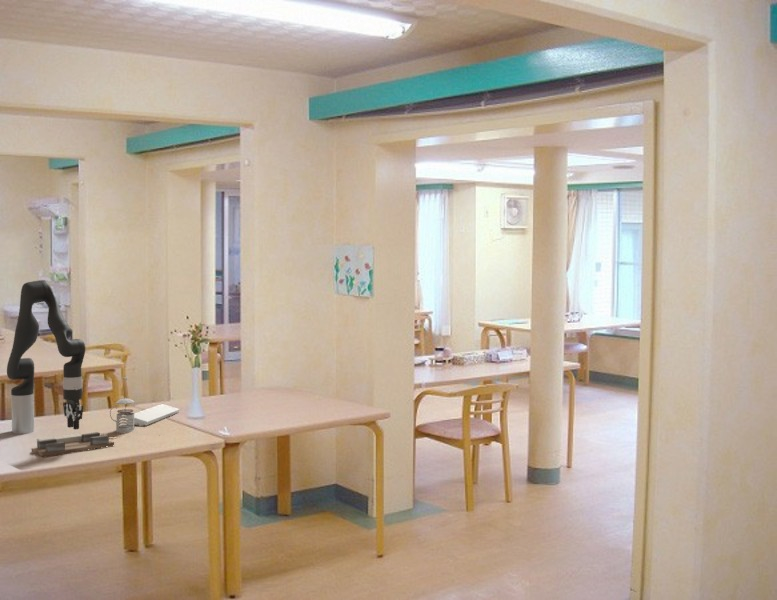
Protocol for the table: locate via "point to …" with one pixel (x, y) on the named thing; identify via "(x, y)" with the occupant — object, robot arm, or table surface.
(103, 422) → the table surface
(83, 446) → the dark brown long fixture
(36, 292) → the robot arm
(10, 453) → the table surface
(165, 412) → the decorative molding
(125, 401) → the french press
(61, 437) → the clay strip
